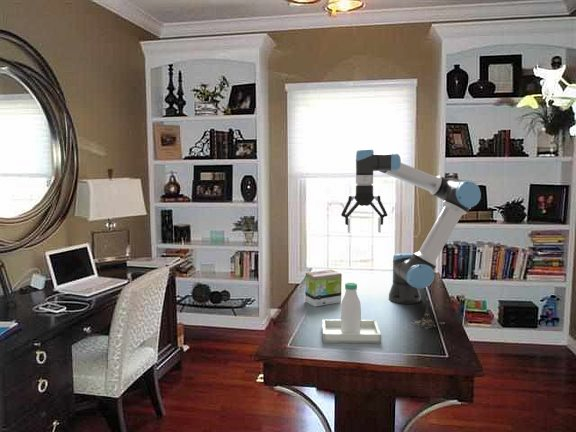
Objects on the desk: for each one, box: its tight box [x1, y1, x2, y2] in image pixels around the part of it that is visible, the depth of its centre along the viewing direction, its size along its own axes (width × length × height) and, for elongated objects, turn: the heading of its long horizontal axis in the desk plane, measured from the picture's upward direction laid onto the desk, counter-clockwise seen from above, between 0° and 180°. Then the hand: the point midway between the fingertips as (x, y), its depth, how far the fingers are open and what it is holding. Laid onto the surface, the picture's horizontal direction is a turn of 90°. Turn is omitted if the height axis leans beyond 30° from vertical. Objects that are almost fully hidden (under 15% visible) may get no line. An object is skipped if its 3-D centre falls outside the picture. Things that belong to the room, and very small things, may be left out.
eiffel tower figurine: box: [408, 297, 446, 330], centre depth 199 cm, size 15×10×13 cm
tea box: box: [304, 269, 343, 308], centre depth 231 cm, size 15×10×15 cm, turn 117°
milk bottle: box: [340, 282, 362, 333], centre depth 188 cm, size 8×8×20 cm
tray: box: [321, 318, 382, 344], centre depth 189 cm, size 22×16×4 cm
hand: (364, 232), depth 213 cm, fingers open, 13 cm apart
